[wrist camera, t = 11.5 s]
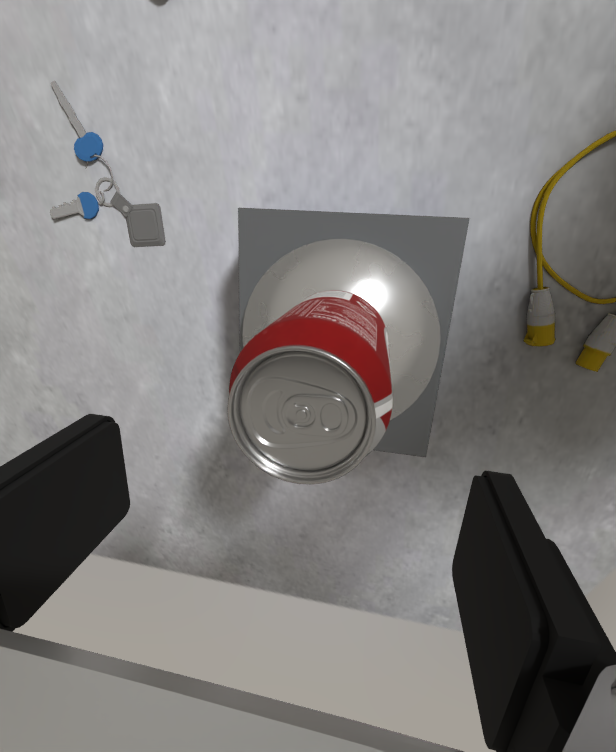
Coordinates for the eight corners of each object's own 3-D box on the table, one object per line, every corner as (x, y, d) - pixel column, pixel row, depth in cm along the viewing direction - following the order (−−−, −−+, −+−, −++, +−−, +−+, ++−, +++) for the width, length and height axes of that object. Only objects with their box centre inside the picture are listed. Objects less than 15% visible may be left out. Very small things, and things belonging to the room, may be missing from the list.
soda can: (284, 287, 24) (203, 324, 13) (391, 289, 23) (401, 332, 12) (286, 385, 27) (218, 488, 15) (384, 392, 25) (387, 508, 14)
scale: (451, 222, 28) (471, 217, 22) (416, 427, 33) (424, 468, 27) (264, 214, 30) (236, 207, 24) (262, 408, 35) (238, 442, 29)
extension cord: (453, 286, 29) (458, 289, 28) (633, 80, 24) (655, 66, 22) (572, 380, 30) (584, 389, 28) (775, 202, 24) (807, 199, 23)
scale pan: (455, 245, 23) (458, 244, 22) (421, 438, 27) (423, 443, 26) (245, 233, 24) (241, 233, 24) (246, 415, 29) (243, 420, 28)
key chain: (181, 229, 32) (176, 229, 31) (123, 291, 34) (117, 292, 34) (59, 81, 29) (51, 77, 29) (7, 160, 32) (-2, 158, 32)
